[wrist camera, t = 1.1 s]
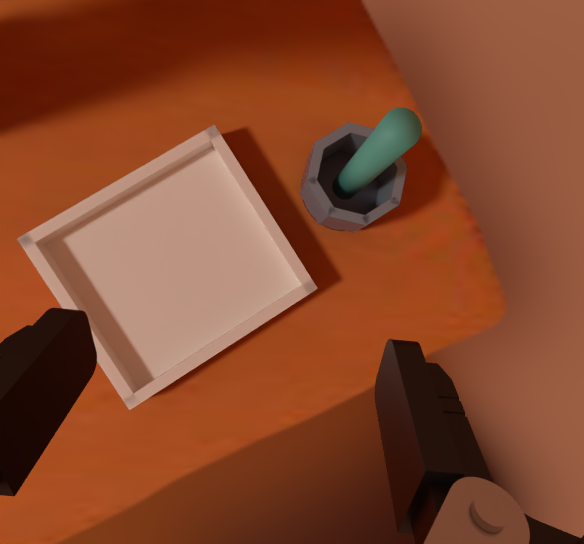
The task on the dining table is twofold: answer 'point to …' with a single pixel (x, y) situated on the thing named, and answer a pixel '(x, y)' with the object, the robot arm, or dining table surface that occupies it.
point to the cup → (326, 167)
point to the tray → (169, 265)
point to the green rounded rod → (378, 151)
